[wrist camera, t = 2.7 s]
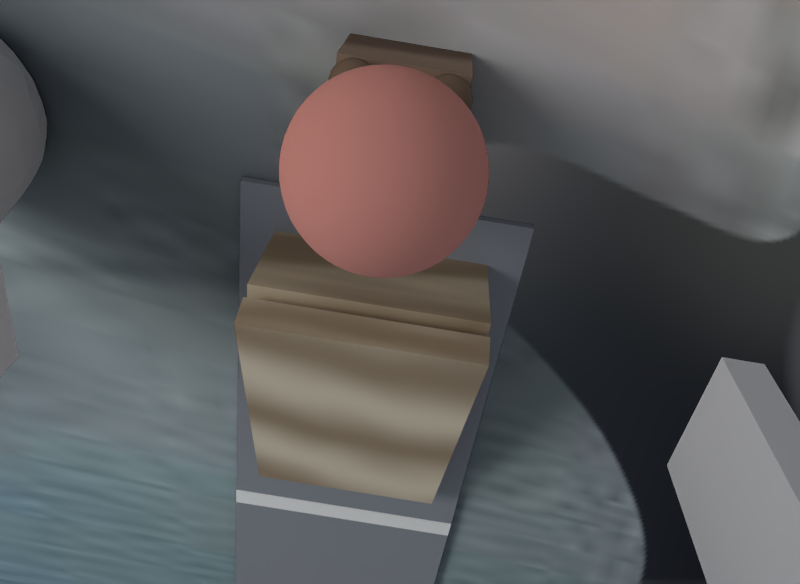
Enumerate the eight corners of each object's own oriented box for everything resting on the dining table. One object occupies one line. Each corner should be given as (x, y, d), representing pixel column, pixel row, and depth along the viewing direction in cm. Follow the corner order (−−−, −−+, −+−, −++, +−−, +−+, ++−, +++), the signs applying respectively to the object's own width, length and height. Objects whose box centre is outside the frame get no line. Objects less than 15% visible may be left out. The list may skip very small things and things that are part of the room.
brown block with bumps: (348, 30, 24) (326, 60, 20) (475, 51, 24) (477, 85, 20) (336, 152, 26) (315, 199, 22) (451, 171, 26) (449, 221, 22)
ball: (308, 27, 20) (256, 80, 15) (504, 60, 20) (518, 123, 15) (297, 206, 23) (251, 299, 18) (466, 234, 23) (467, 334, 18)
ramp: (277, 226, 28) (234, 309, 23) (486, 260, 28) (492, 351, 23) (266, 454, 36) (232, 557, 30) (432, 480, 36) (427, 588, 30)
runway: (243, 176, 27) (192, 246, 22) (533, 224, 27) (549, 304, 22) (237, 603, 43) (207, 700, 38) (419, 632, 43) (413, 732, 38)
